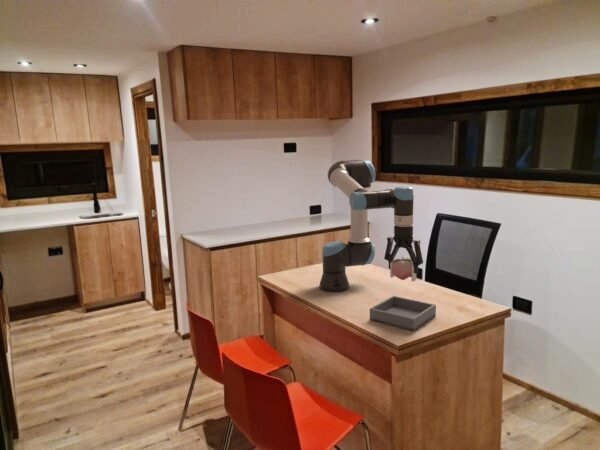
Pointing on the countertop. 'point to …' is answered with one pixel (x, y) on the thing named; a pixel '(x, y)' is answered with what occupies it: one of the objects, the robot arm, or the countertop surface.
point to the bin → (403, 313)
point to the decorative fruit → (402, 268)
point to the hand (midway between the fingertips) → (403, 278)
